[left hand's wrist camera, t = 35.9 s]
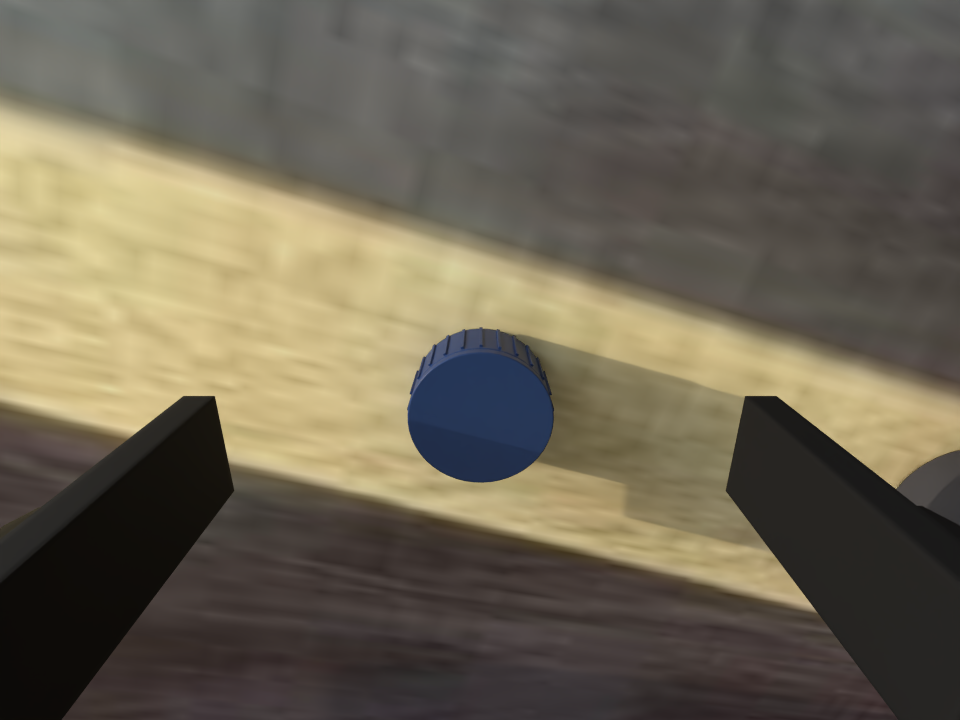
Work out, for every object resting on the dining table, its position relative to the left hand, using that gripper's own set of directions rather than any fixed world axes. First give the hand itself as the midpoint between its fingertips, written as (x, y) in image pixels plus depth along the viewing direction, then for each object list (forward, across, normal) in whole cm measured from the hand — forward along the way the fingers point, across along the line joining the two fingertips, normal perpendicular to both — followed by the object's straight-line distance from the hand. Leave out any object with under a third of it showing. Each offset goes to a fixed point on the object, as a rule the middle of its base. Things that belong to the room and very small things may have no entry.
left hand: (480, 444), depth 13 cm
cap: (+1, 0, 0) cm, 1 cm away
